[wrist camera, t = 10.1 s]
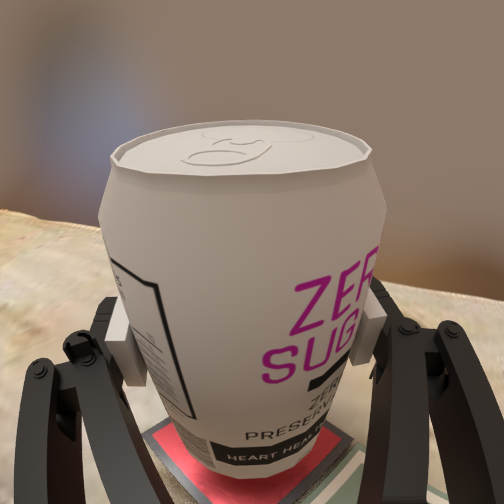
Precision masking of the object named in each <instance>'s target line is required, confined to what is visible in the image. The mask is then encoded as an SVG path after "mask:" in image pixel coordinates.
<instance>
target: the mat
mask: <svg viewBox="0 0 504 504" xmlns="http://www.w3.org/2000/svg"><path fill="white" fill-rule="evenodd" d="M365 454H366V447H364V446H363V445H361V444H360V443H357V444H356V445H355V446H354V447H353V449H352V450H351V451H350V452H349V453H348V454H347V456H346V457H345V458H344V459H343V460H342V461H341V462H340V463H339V465H338V466H337V467H336V468H335V469H334V470H333V471H332V472H331V473H330V474H329V475H328V477H327V478H326V479H325V480H324V481H323V482H322V483H321V484H320V485H319V486H318V487H317V488H316V489H315V490H314V491H313V492H312V493H311V494H310V495H309V496H308V497H307V498H306V499H305V500H304V501H303V502H302V503H300V504H357V500H358V495H359V490H360V485H361V479H362V473H363V467H364V461H365ZM427 503H428V504H449V500H448V495H447V494H445V493H443V492H441V491H439V490H437V489H435V488H434V487H432V486H430V485H428V484H427Z"/></svg>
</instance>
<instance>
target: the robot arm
mask: <svg viewBox="0 0 504 504" xmlns="http://www.w3.org/2000/svg"><path fill="white" fill-rule="evenodd" d="M63 350H64V352H65V354H66V355H67V357H68V359H69V360H70V361H68V362H65V363H61V364H57V365H54V364H53V363H52V361H51V360H49V359H48V358H40V359H37V360H35V361H33V362H32V363H31V364H30V365H29V367H28V369H27V371H26V376H25V381H24V386H23V392H22V398H21V404H20V411H19V418H18V426H17V436H16V447H15V463H14V504H86V500H85V491H84V479H83V463H82V417H83V421H84V425H85V429H86V432H87V436H88V440H89V443H90V446H91V450H92V453H93V456H94V459H95V462H96V465H97V468H98V471H99V474H100V477H101V480H102V483H103V485H104V488H105V491H106V493H107V496H108V498H109V501H110V503H111V504H174V502H173V500H172V499H171V497H170V495H169V493H168V491H167V489H166V487H165V485H164V483H163V481H162V479H161V477H160V475H159V473H158V471H157V469H156V467H155V465H154V463H153V461H152V459H151V456H150V454H149V452H148V450H147V448H146V445H145V443H144V441H143V438H142V436H141V434H140V431H139V429H138V426H137V424H136V421H135V419H134V416H133V414H132V411H131V408H130V406H129V403H128V400H127V398H126V395H125V392H124V391H123V389H122V385H123V379H124V380H125V382H126V384H127V386H146V378H147V370H148V369H147V366H146V364H145V361H144V359H143V357H142V354H141V352H140V349H139V346H138V344H137V341H136V339H135V336H134V333H133V331H132V328H131V325H130V323H129V320H128V317H127V314H126V311H125V308H124V305H123V302H122V300H121V296H120V293H119V295H118V297H105V299H104V300H103V301H102V302H101V303H100V304H99V306H98V308H97V311H96V315H95V317H94V320H93V323H92V325H91V328H90V331H87V330H80V331H76V332H74V333H72V334H70V335H69V336H68V337H67V338H66V339H65V341H64V343H63ZM372 354H373V355H374V357H375V359H376V363H375V365H374V367H373V370H372V372H371V374H370V377H369V379H372V377H373V388H372V401H371V412H370V422H369V431H368V439H367V447H366V454H365V461H364V467H363V473H362V479H361V485H360V490H359V495H358V500H357V504H428V503H427V484H428V467H429V415H430V418H431V422H432V426H433V430H434V433H435V437H436V441H437V446H438V450H439V454H440V459H441V463H442V468H443V473H444V478H445V483H446V488H447V494H448V500H449V504H504V419H503V417H502V414H501V411H500V409H499V406H498V403H497V401H496V398H495V396H494V393H493V391H492V389H491V386H490V384H489V381H488V379H487V377H486V375H485V372H484V370H483V368H482V366H481V364H480V361H479V359H478V357H477V355H476V353H475V351H474V349H473V347H472V345H471V343H470V341H469V339H468V337H467V335H466V333H465V331H464V329H463V328H462V327H461V326H460V325H459V324H458V323H456V322H453V321H449V320H446V321H442V322H441V323H440V324H439V326H438V328H437V329H426V328H421V327H420V325H419V324H418V323H417V322H416V321H414V320H412V319H410V318H406V317H404V316H403V314H402V313H401V311H400V310H399V308H398V307H397V305H396V304H395V302H394V301H393V299H392V298H391V297H390V295H389V293H388V292H387V291H386V289H385V288H384V286H383V285H382V283H381V282H380V281H379V280H377V279H376V278H375V277H373V276H372V279H371V283H370V287H369V290H368V294H367V298H366V301H365V305H364V308H363V312H362V315H361V319H360V322H359V325H358V329H357V332H356V335H355V338H354V341H353V345H352V348H351V351H350V354H349V359H350V361H351V364H352V366H356V365H361V364H365V363H369V361H370V359H371V357H372Z"/></svg>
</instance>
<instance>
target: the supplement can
mask: <svg viewBox="0 0 504 504" xmlns="http://www.w3.org/2000/svg"><path fill="white" fill-rule="evenodd" d="M371 156H372V149H371V148H370V147H369V146H368V145H367V144H366V143H365V142H364V141H363V140H361V139H359V138H357V137H354V136H352V135H350V134H347V133H345V132H341V131H338V130H333V129H329V128H325V127H321V126H316V125H309V124H302V123H295V122H286V121H268V120H267V121H266V120H237V121H236V120H234V121H217V122H208V123H198V124H190V125H185V126H179V127H174V128H169V129H165V130H160V131H157V132H153V133H150V134H147V135H144V136H140V137H137V138H135V139H133V140H131V141H129V142H127V143H125V144H123V145H121V146H119V147H118V148H117V149H116V150H115V151H114V153H113V154H112V155H111V156H110V159H111V166H112V169H111V173H110V176H109V179H108V182H107V185H106V189H105V193H104V195H103V199H102V203H101V206H100V210H99V214H98V219H99V223H100V227H101V231H102V235H103V239H104V243H105V246H106V250H107V254H108V257H109V261H110V264H111V268H112V271H113V274H114V278H115V281H116V284H117V287H118V290H119V293H120V296H121V300H122V302H123V305H124V308H125V311H126V314H127V317H128V320H129V323H130V325H131V328H132V331H133V333H134V336H135V339H136V341H137V344H138V346H139V349H140V352H141V354H142V357H143V359H144V361H145V364H146V366H147V369H148V371H149V373H150V376H151V378H152V380H153V383H154V385H155V387H156V389H157V392H158V394H159V396H160V398H161V400H162V402H163V405H164V407H165V409H166V411H167V413H168V415H169V417H170V419H171V421H172V423H173V425H174V427H175V429H176V431H177V433H178V435H179V437H180V438H181V440H182V442H183V444H184V445H185V447H186V449H187V450H188V452H189V454H190V455H191V456H192V457H194V458H195V459H196V460H197V461H199V462H200V463H201V464H203V465H204V466H205V467H207V468H208V469H209V470H211V471H214V472H217V473H220V474H223V475H226V476H230V477H233V478H237V479H248V478H267V477H270V476H272V475H275V474H277V473H280V472H282V471H285V470H287V469H289V468H292V467H293V466H295V465H296V464H297V463H298V462H299V461H300V460H301V459H302V458H303V457H304V456H305V455H307V454H308V453H309V452H310V451H311V450H312V448H313V446H314V444H315V441H316V439H317V437H318V435H319V433H320V430H321V428H322V426H323V423H324V421H325V418H326V416H327V414H328V411H329V409H330V406H331V403H332V401H333V398H334V396H335V393H336V390H337V388H338V385H339V382H340V380H341V377H342V374H343V371H344V368H345V365H346V363H347V360H348V357H349V354H350V351H351V348H352V345H353V341H354V338H355V335H356V332H357V329H358V325H359V322H360V319H361V315H362V312H363V308H364V305H365V301H366V298H367V294H368V290H369V287H370V283H371V279H372V275H373V271H374V267H375V263H376V258H377V254H378V250H379V245H380V241H381V236H382V231H383V226H384V221H385V216H386V210H387V206H386V202H385V199H384V196H383V193H382V191H381V187H380V185H379V182H378V179H377V176H376V173H375V171H374V169H373V165H372V163H371Z"/></svg>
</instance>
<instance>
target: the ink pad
mask: <svg viewBox="0 0 504 504" xmlns="http://www.w3.org/2000/svg"><path fill="white" fill-rule="evenodd" d="M141 435H142V437H143V438H144V440H145V441H146V442H147V443H148V445H149V446H150V447H151V449H152V450H153V451H154V453H155V454H156V455H157V456H158V458H159V459H160V460H161V461H162V462H163V464H164V465H165V466H166V467H167V468H168V470H169V471H170V472H171V473H172V474H173V475H174V477H175V478H176V479H177V480H178V481H179V482H180V483H181V485H182V486H183V487H184V488H185V489H186V490H187V491H188V492H189V493H190V494H191V495H192V496H193V498H194V499H195V500H196V501H197V502H198V503H199V504H293V503H294V502H295V501H296V500H297V499H298V498H299V497H301V496H302V495H303V494H304V493H305V492H306V491H307V490H308V489H309V488H310V487H311V486H312V485H313V484H314V483H315V482H316V481H317V480H318V479H319V478H320V477H321V476H322V475H323V474H324V473H325V472H326V471H327V469H328V468H329V467H330V466H331V465H332V464H333V463H334V462H335V461H336V460H337V459H338V457H339V456H340V455H341V454H342V453H343V452H344V451H345V450H346V448H347V447H348V446H349V445H350V444H351V442H352V441H353V438H352V437H350V436H349V435H347V434H346V433H344V432H343V431H341V430H340V429H338V428H337V427H335V426H334V425H332V424H331V423H330V422H328V421H327V420H325V421H324V423H323V426H322V428H321V430H320V433H319V435H318V437H317V439H316V441H315V444H314V446H313V448H312V450H311V451H310V452H309V453H308V454H307V455H305V456H304V457H303V458H302V459H301V460H300V461H299V462H298V463H297V464H296V465H295V466H293V467H292V468H289V469H287V470H285V471H282V472H280V473H277V474H275V475H272V476H270V477H267V478H248V479H237V478H233V477H230V476H226V475H223V474H220V473H217V472H214V471H211V470H209V469H208V468H207V467H205V466H204V465H203V464H201V463H200V462H199V461H197V460H196V459H195V458H194V457H192V456H191V455H190V454H189V452H188V450H187V449H186V447H185V445H184V444H183V442H182V440H181V438H180V437H179V435H178V433H177V431H176V429H175V427H174V425H173V423H172V421H171V419H170V417H168V418H166V419H165V420H163V421H161V422H160V423H158V424H157V425H155V426H153V427H152V428H150V429H148V430H147V431H145V432H144V433H142V434H141Z"/></svg>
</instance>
